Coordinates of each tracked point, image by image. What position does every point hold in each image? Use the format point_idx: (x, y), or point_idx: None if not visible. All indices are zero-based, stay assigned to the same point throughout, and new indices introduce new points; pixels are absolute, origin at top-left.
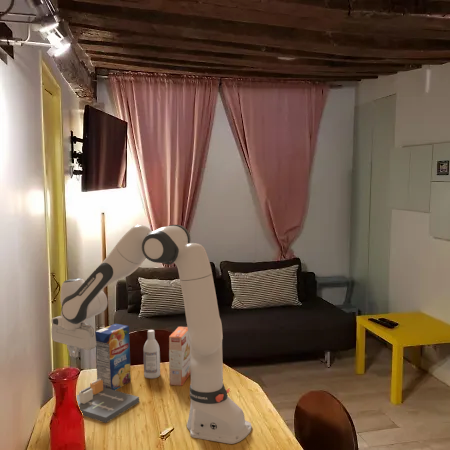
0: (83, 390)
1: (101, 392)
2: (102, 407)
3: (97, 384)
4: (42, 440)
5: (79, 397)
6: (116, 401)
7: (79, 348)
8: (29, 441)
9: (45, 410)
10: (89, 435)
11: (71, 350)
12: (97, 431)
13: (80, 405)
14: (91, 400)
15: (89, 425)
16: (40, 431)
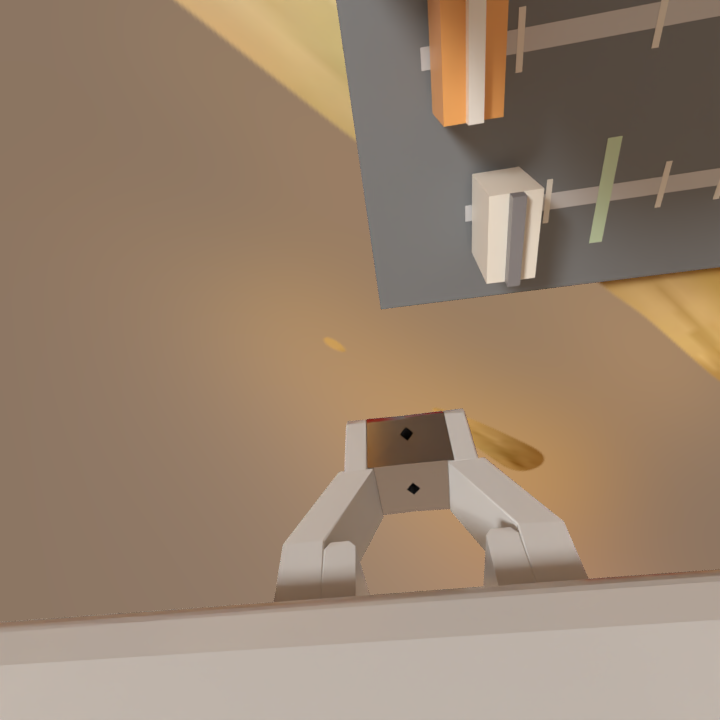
0: (520, 271)
1: None
2: (653, 195)
3: (501, 72)
4: (527, 452)
5: (479, 266)
6: (717, 55)
7: (557, 538)
8: None
9: (329, 346)
10: (692, 356)
11: (370, 514)
12: (714, 321)
13: None
14: None
15: (640, 311)
16: None
